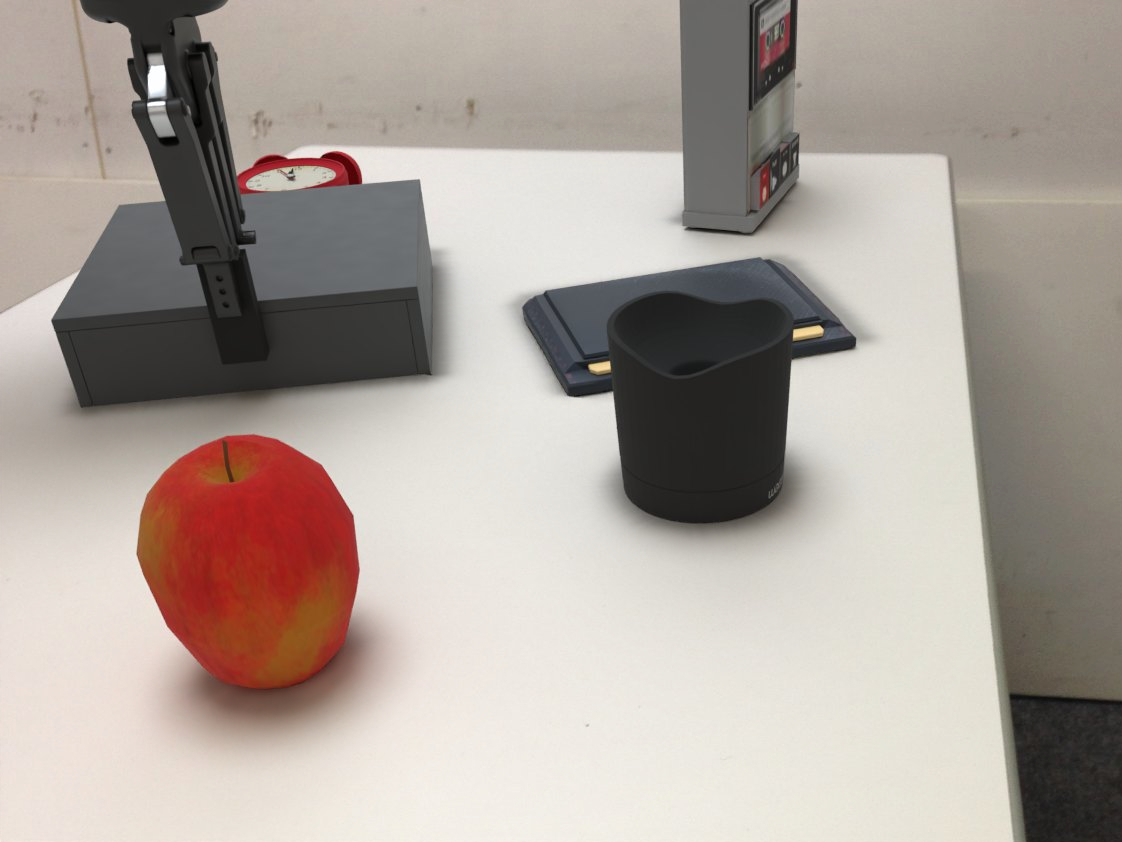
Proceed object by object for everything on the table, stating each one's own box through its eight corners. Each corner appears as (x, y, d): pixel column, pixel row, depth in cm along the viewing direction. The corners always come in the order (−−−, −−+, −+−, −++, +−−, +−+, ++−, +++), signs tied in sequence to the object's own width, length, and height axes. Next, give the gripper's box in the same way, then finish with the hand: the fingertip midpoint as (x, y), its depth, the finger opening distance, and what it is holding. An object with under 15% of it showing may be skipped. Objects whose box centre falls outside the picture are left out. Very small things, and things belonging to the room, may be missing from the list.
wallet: (782, 244, 94) (862, 324, 82) (782, 269, 95) (860, 351, 84) (515, 282, 91) (558, 371, 79) (518, 307, 92) (561, 399, 80)
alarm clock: (210, 208, 101) (240, 112, 111) (232, 276, 106) (260, 178, 116) (341, 201, 101) (360, 106, 111) (358, 269, 106) (375, 172, 116)
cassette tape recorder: (755, 236, 101) (759, -130, 86) (682, 229, 103) (674, -130, 88) (801, 180, 111) (812, -156, 96) (734, 175, 113) (735, -155, 98)
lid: (83, 415, 81) (50, 320, 77) (143, 288, 98) (118, 204, 94) (432, 381, 83) (417, 286, 79) (432, 262, 99) (419, 178, 95)
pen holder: (678, 559, 65) (673, 380, 59) (586, 484, 72) (572, 315, 66) (824, 502, 69) (832, 328, 63) (723, 435, 76) (722, 271, 69)
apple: (205, 618, 63) (136, 396, 56) (389, 603, 63) (343, 381, 56) (163, 744, 56) (77, 507, 48) (371, 727, 56) (316, 489, 49)
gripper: (194, -58, 60) (298, 398, 74) (230, -97, 70) (315, 310, 85) (30, -47, 60) (166, 411, 74) (90, -88, 70) (200, 321, 84)
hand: (246, 357), depth 79 cm, fingers closed
